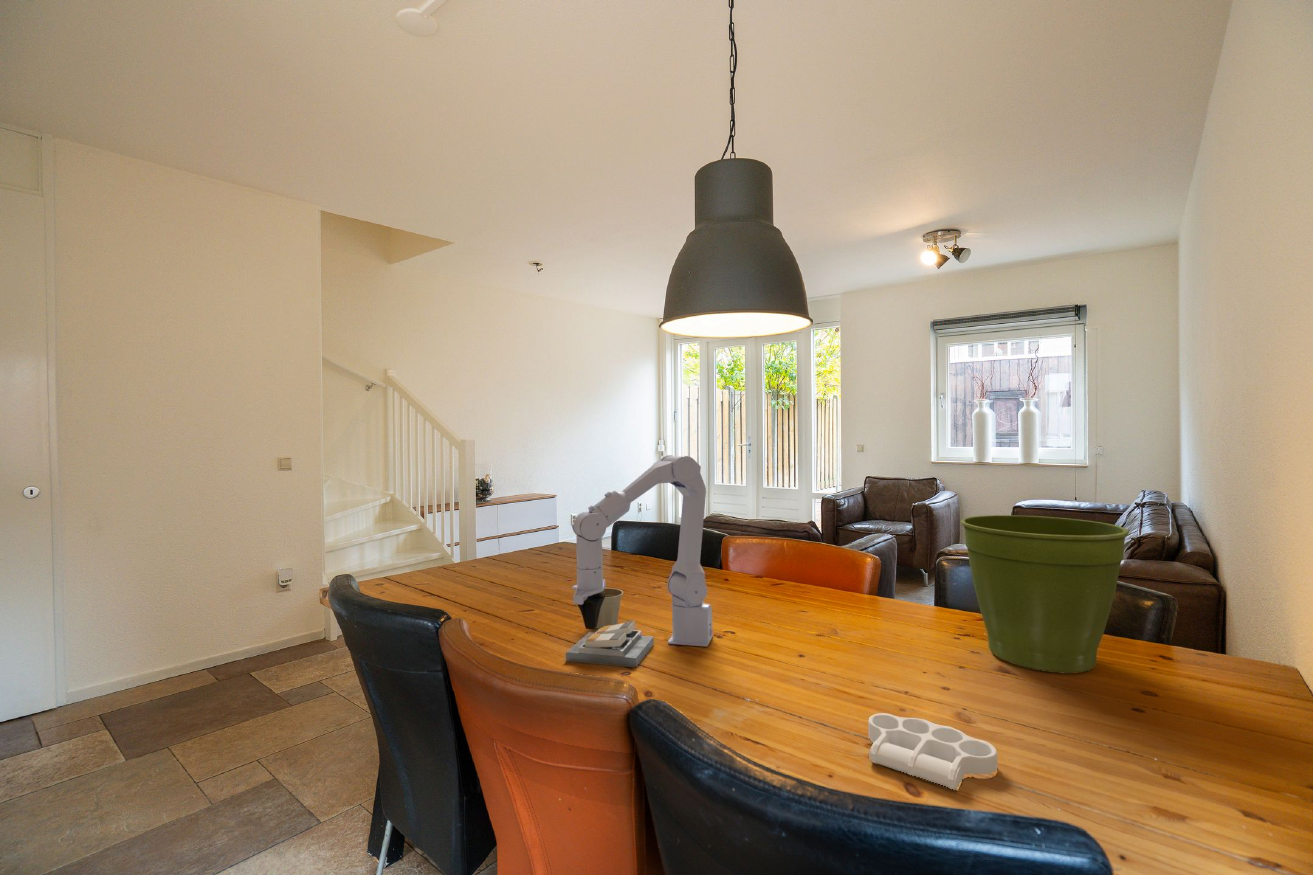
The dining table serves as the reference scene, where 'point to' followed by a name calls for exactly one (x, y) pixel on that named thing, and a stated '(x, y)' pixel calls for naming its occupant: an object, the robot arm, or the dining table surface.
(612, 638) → the breaker
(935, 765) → the knuckle duster
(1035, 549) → the plant pot
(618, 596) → the flower pot
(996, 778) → the dining table surface
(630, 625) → the block
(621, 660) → the panel
